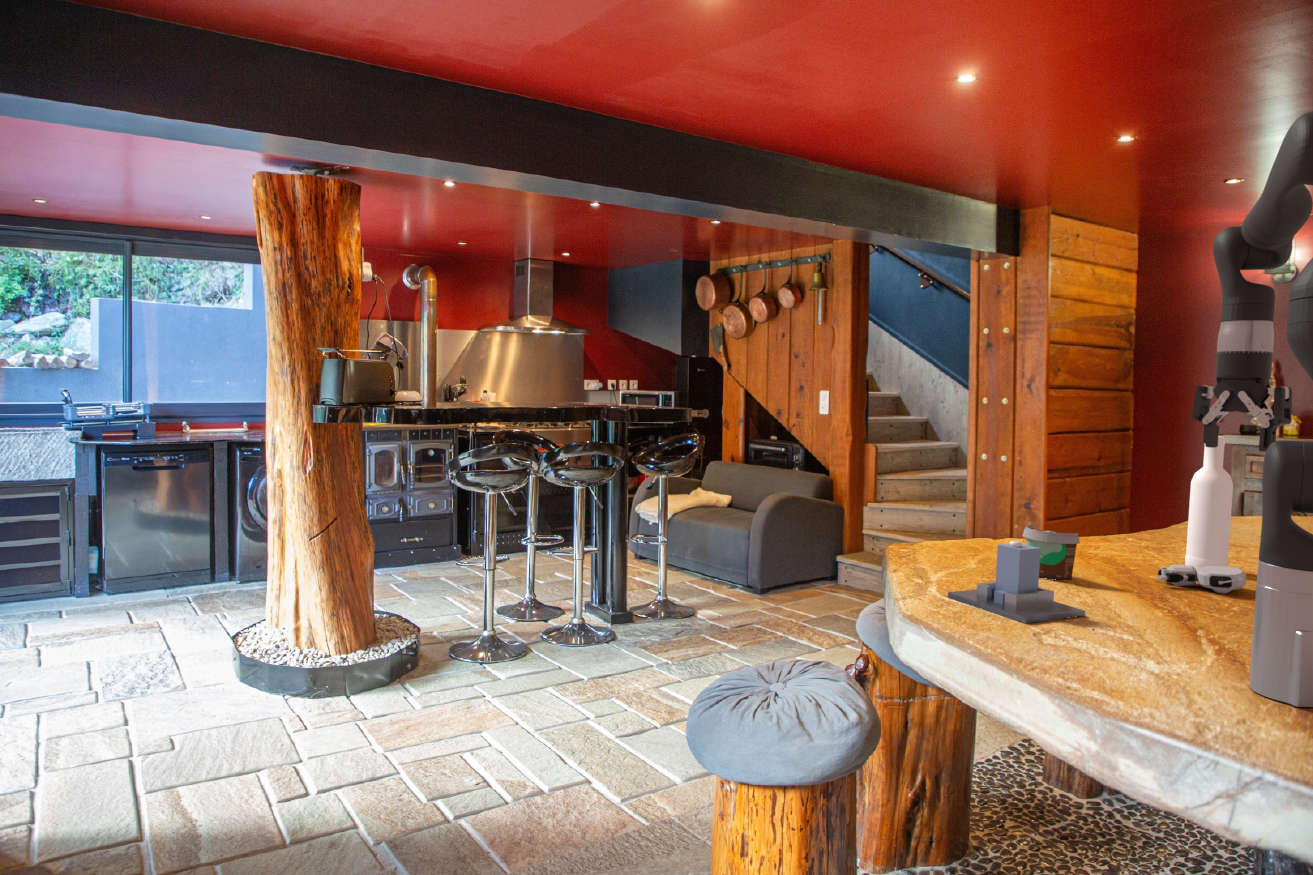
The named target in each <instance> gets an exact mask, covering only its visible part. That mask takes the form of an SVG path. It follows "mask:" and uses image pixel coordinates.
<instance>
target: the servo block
mask: <svg viewBox="0 0 1313 875" xmlns="http://www.w3.org/2000/svg"><path fill="white" fill-rule="evenodd" d="M996 549H997V551H996V567H995V568H996V569H995V582H996V584H995V591H994V602H995V603H998V604H1001V605H1005V592H1013V593H1016V594H1017V593H1026V592H1036V591H1038V587H1039V582H1040V581H1039V580H1040V578H1039V567H1040V549H1041V548H1038V547H1033V546H1029V545H1026V543H1025V544H1024V543H1023V542H1022V541H1016V540H1010V541H1009V543H999V544H997V548H996Z"/></svg>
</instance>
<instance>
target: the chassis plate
mask: <svg viewBox="0 0 1313 875" xmlns="http://www.w3.org/2000/svg"><path fill="white" fill-rule="evenodd" d="M995 584H996V581H988V582H987V581H986V582H980V583H979V582H977V583H976V589H975V588H974V589H968V590H967V589H965V590H956V591H955V590H954V591H948V592H947V598H948V599H951V600H954V601H957V602H961V603H963V604H966V605H969V606H973V607H975V608H978V609H980V608H982V609H981V610H983V609H985V610H984V611H986V610H987V611H986V612H990V613H992V612H994V613H993V614H995V613H996V615H998V614H999V616H1002V617H1004V616H1006V617H1005V618H1007V617H1008V619H1010V618H1011V619H1010V620H1013V621H1016V622H1019V621H1021V622H1020V623H1022V622H1023V623H1022V624H1025V623H1028V624H1034V623H1033V622H1036V623H1042V622H1041V621H1044V622H1050V621H1057V620H1056V619H1060V620H1064V619H1063V618H1068V617H1075V616H1083V617H1086V610H1084V609H1082V608H1078V607H1074V606H1072V605H1071V606H1070V605H1067V604H1065V603H1064V604H1063V603H1061V602H1057V601H1054V600H1055V599H1054V598H1055V591H1054V590H1050V589H1047V588H1045V587H1044V588H1043V587H1041V586H1040V587H1039V586H1038V591H1036V592H1026V593H1017V594H1016V593H1013V592H1005V605H1001V604H998V603H995V602H994V591H995ZM1075 618H1076V617H1075ZM1068 619H1069V618H1068Z"/></svg>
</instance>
